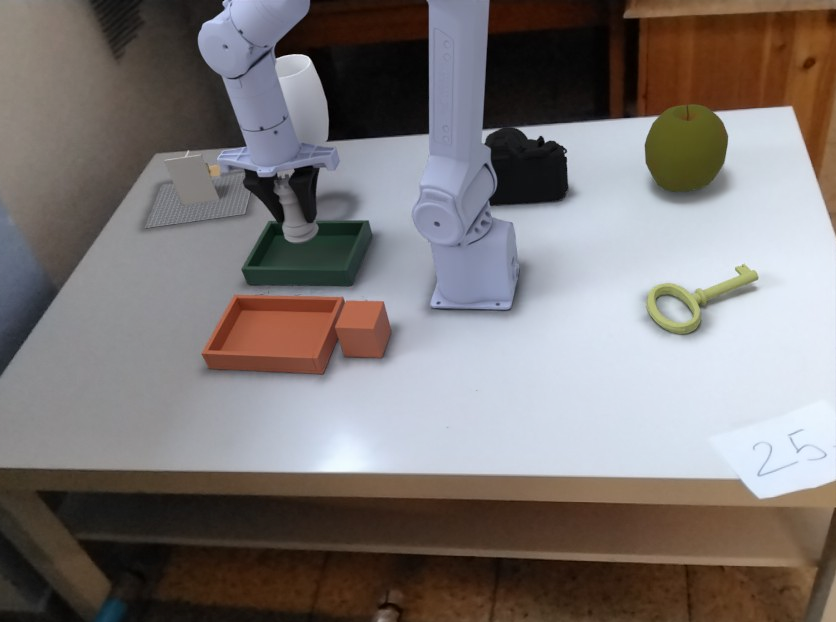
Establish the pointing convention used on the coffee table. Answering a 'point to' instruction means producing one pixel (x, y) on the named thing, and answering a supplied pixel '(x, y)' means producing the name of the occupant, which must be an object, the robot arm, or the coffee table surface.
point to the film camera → (526, 168)
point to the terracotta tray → (275, 334)
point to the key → (695, 299)
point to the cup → (304, 98)
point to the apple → (686, 148)
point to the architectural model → (197, 193)
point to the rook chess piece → (293, 214)
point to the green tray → (309, 255)
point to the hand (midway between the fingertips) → (297, 218)
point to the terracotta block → (363, 328)
